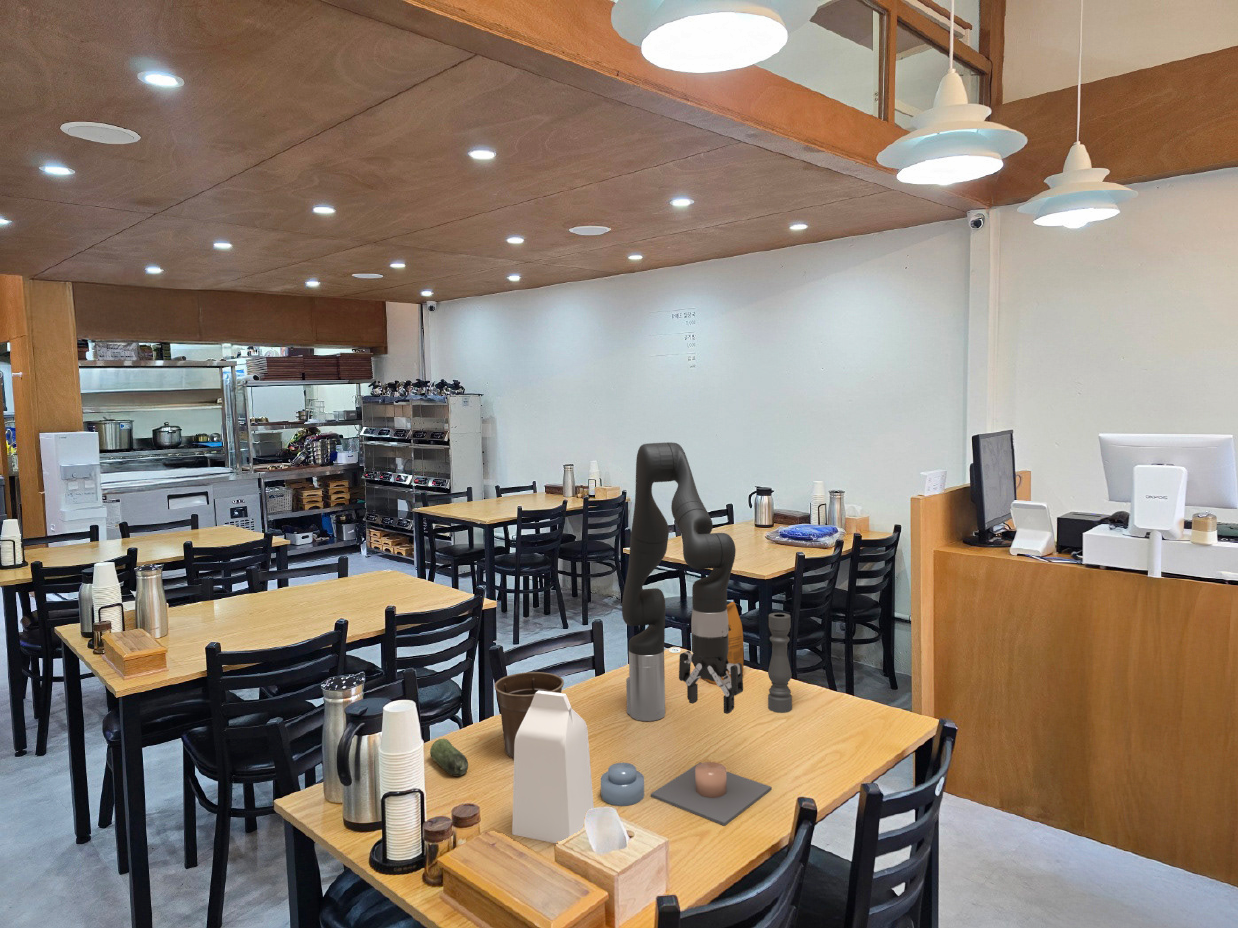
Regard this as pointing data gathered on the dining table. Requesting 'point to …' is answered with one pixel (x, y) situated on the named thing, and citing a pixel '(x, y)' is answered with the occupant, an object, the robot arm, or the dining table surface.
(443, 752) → the vegetable
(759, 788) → the mat
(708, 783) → the lid
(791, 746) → the dining table surface
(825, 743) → the dining table surface
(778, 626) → the candle holder
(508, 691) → the plant pot
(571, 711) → the milk
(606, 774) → the sugar pot
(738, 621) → the coffee package
